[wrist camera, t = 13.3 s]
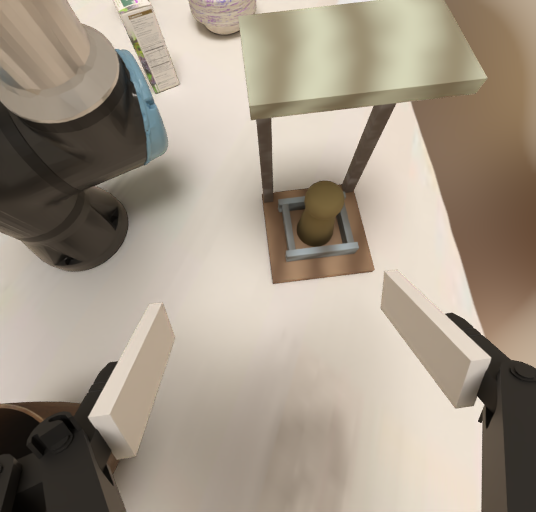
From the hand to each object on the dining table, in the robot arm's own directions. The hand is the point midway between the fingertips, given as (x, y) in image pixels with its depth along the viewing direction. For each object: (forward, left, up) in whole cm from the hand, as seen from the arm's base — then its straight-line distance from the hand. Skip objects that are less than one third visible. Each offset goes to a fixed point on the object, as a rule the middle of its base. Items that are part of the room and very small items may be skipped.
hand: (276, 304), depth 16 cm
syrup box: (-52, +27, -26) cm, 64 cm away
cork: (-5, +17, -24) cm, 30 cm away
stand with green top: (-5, +17, -25) cm, 31 cm away
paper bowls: (-54, +50, -26) cm, 78 cm away
